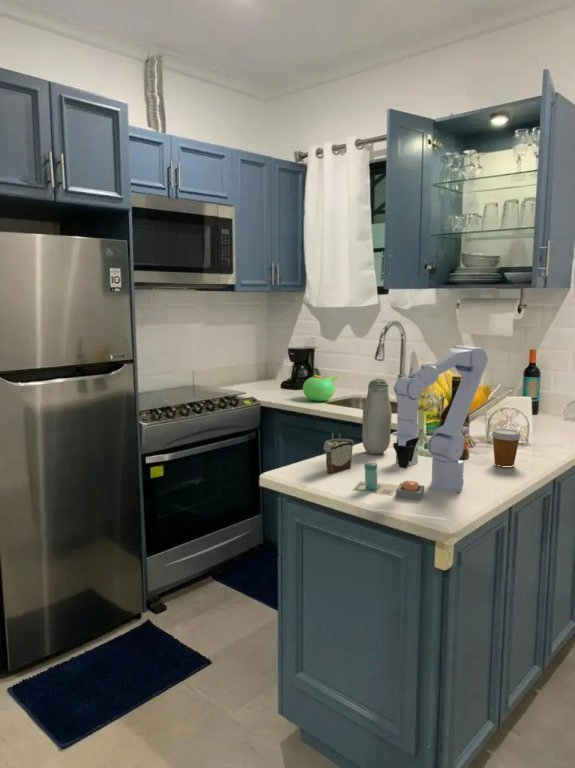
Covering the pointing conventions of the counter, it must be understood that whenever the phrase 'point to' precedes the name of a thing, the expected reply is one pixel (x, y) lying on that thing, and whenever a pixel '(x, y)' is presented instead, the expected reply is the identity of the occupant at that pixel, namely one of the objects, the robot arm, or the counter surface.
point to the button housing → (410, 493)
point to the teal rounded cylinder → (370, 476)
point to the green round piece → (319, 388)
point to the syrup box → (415, 455)
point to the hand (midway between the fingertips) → (405, 464)
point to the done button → (410, 486)
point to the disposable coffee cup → (505, 446)
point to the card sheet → (381, 488)
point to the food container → (338, 455)
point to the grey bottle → (377, 417)
